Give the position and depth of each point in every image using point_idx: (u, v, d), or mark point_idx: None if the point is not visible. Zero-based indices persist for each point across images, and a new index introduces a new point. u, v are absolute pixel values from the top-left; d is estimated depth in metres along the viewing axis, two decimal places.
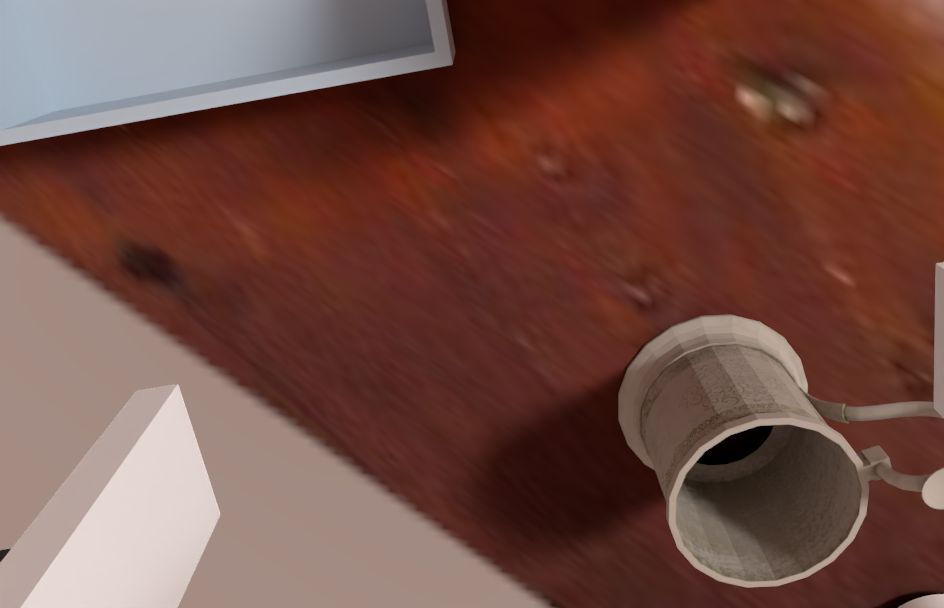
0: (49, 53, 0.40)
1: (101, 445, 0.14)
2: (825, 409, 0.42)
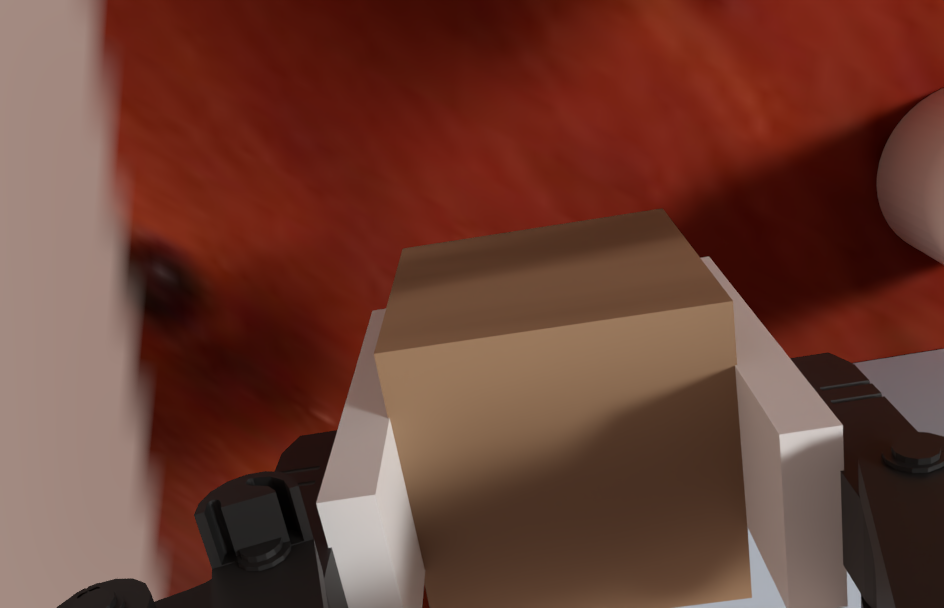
0: None
1: (369, 350, 0.15)
2: None
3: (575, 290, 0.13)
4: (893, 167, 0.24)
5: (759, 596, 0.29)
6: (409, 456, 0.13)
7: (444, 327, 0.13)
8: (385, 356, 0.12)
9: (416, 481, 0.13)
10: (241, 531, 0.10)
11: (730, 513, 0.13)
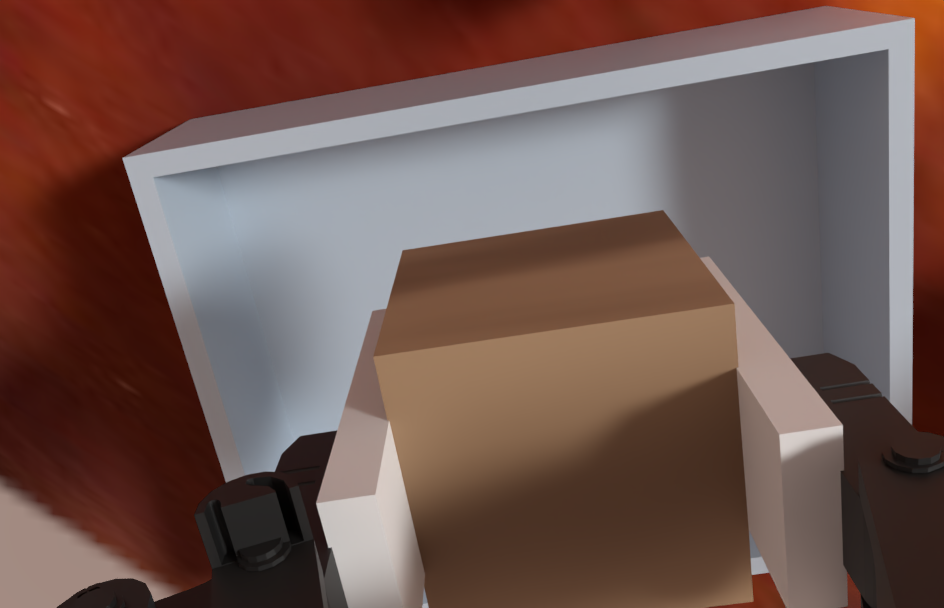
0: None
1: (369, 350, 0.15)
2: None
3: (575, 292, 0.13)
4: None
5: None
6: (408, 459, 0.13)
7: (443, 330, 0.13)
8: (384, 359, 0.12)
9: (416, 484, 0.13)
10: (241, 531, 0.10)
11: (731, 516, 0.13)
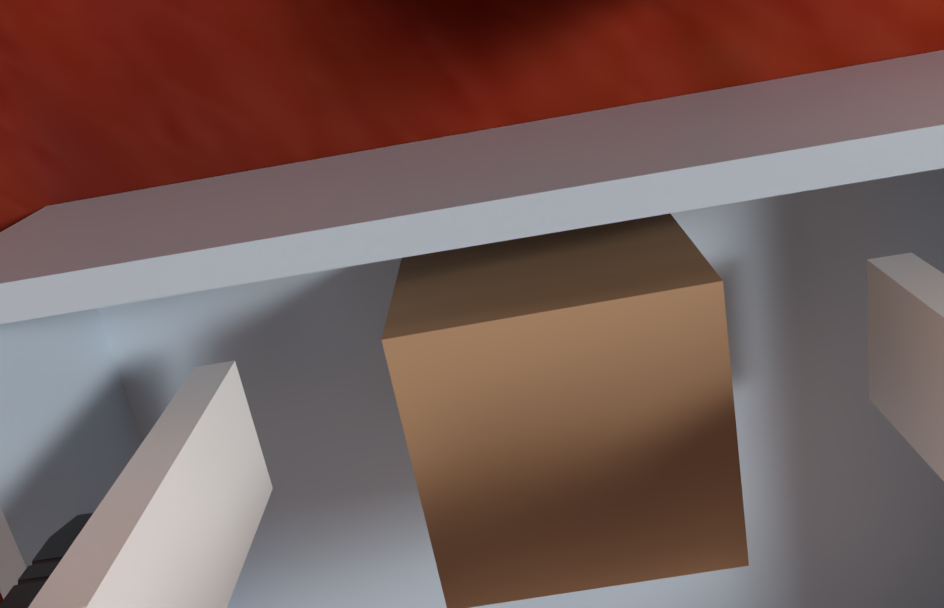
0: None
1: (168, 416, 0.14)
2: None
3: (572, 274, 0.14)
4: None
5: None
6: (417, 437, 0.14)
7: (448, 313, 0.14)
8: (392, 342, 0.13)
9: (425, 461, 0.14)
10: None
11: (726, 484, 0.14)
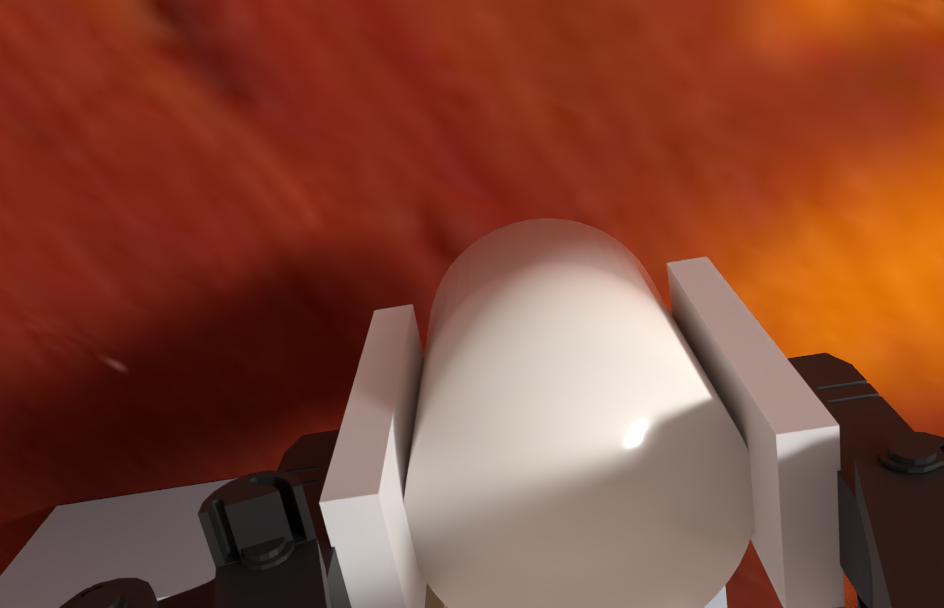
0: None
1: (371, 349, 0.15)
2: None
3: None
4: None
5: None
6: None
7: None
8: None
9: None
10: (245, 530, 0.10)
11: None
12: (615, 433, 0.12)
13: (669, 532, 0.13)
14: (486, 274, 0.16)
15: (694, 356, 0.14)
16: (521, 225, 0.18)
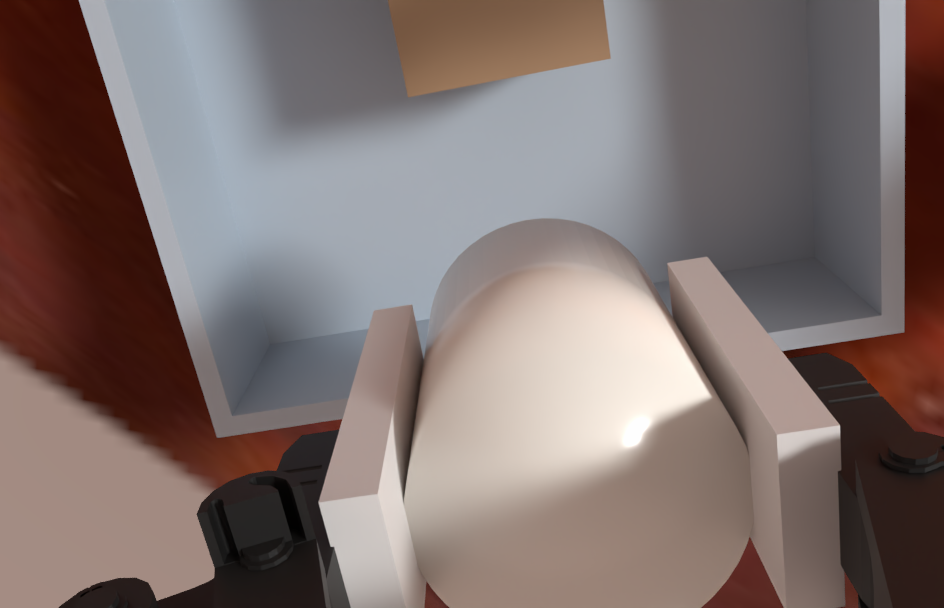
0: (269, 272, 0.29)
1: (371, 349, 0.15)
2: None
3: None
4: None
5: (476, 89, 0.27)
6: None
7: None
8: None
9: None
10: (244, 531, 0.10)
11: None
12: (616, 432, 0.12)
13: (668, 530, 0.13)
14: (485, 274, 0.16)
15: (693, 355, 0.14)
16: (521, 225, 0.18)
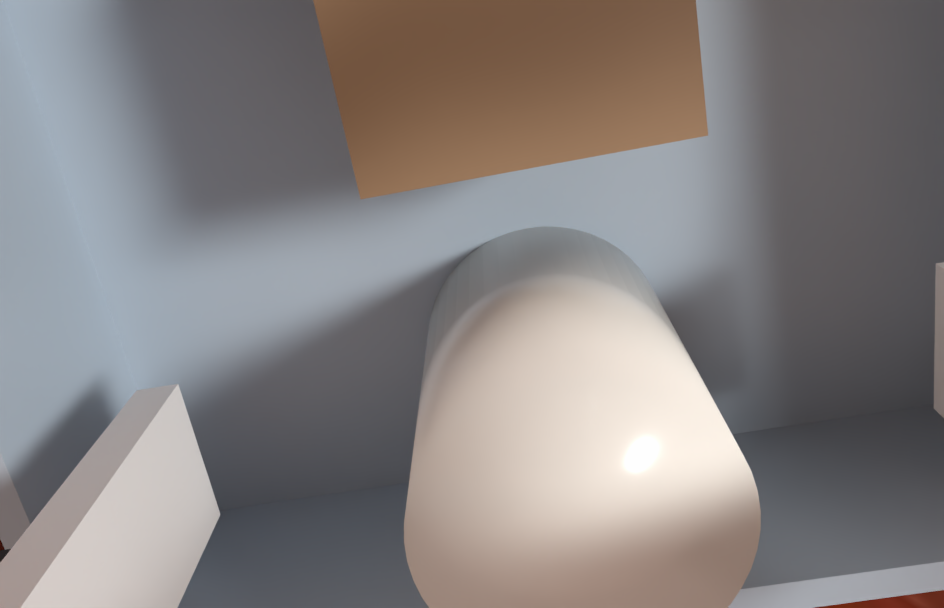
0: None
1: (101, 445, 0.14)
2: None
3: None
4: None
5: None
6: None
7: None
8: None
9: None
10: None
11: (679, 20, 0.12)
12: (618, 456, 0.12)
13: (671, 555, 0.13)
14: (486, 287, 0.16)
15: (697, 374, 0.14)
16: (521, 234, 0.18)
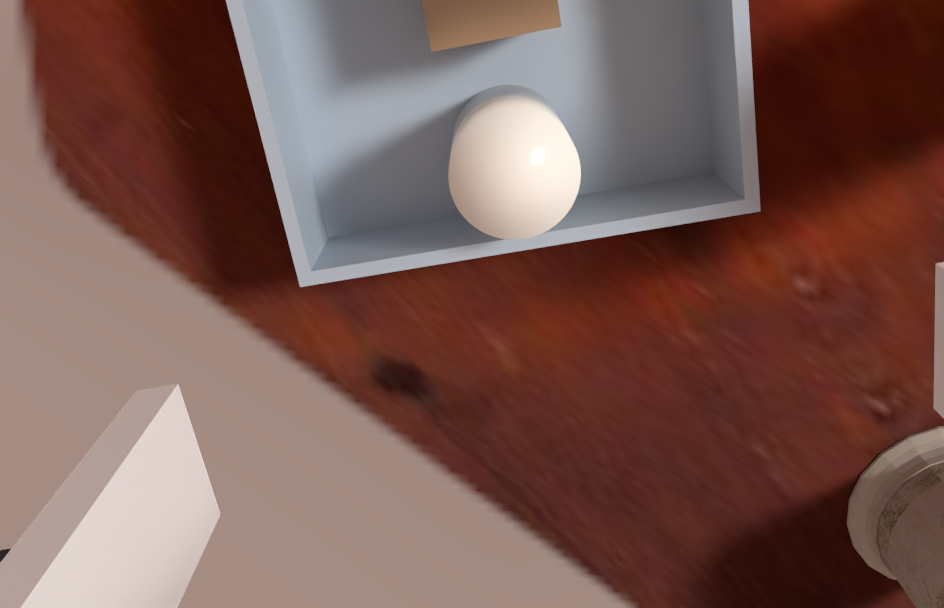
0: (329, 183, 0.41)
1: (101, 445, 0.14)
2: None
3: None
4: (452, 139, 0.39)
5: (475, 52, 0.39)
6: None
7: None
8: None
9: None
10: None
11: None
12: (527, 142, 0.33)
13: (548, 184, 0.34)
14: (479, 101, 0.37)
15: (563, 125, 0.35)
16: (496, 87, 0.39)
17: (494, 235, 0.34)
